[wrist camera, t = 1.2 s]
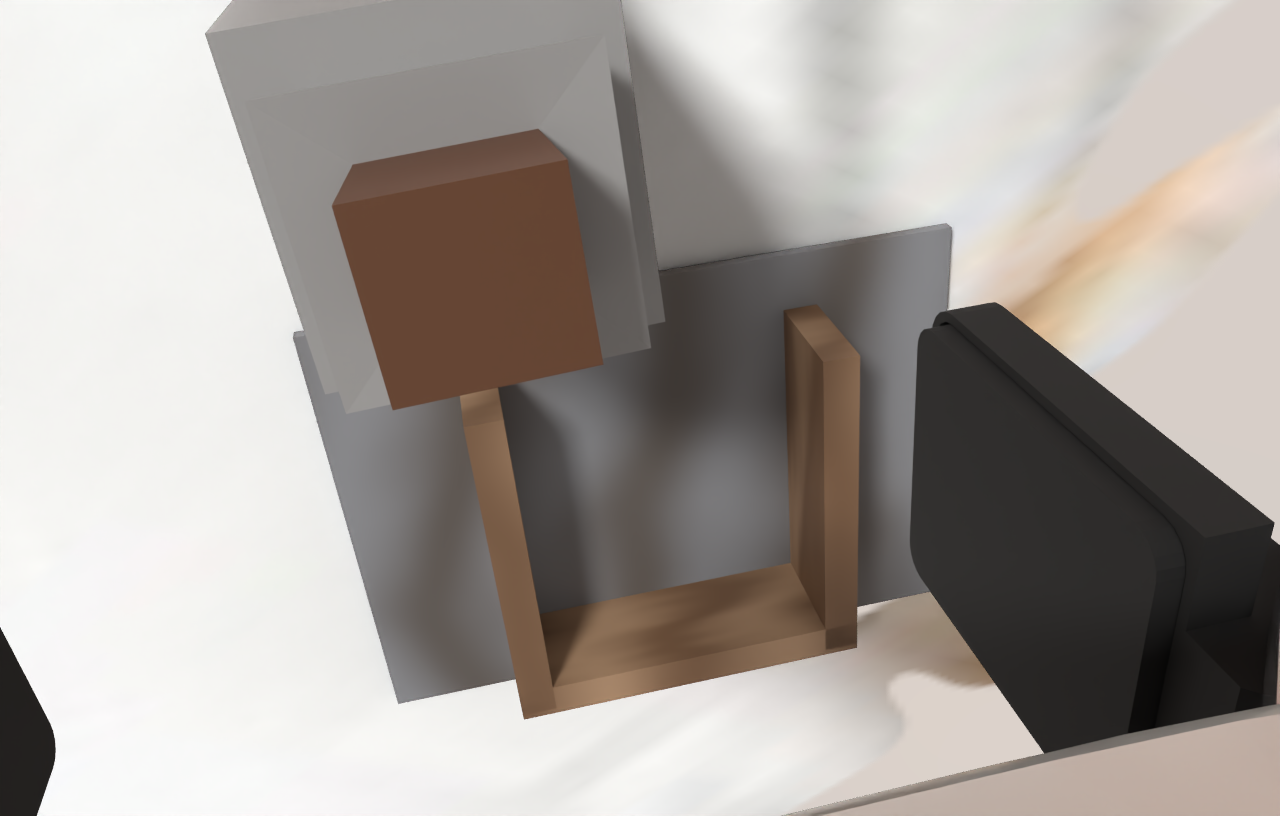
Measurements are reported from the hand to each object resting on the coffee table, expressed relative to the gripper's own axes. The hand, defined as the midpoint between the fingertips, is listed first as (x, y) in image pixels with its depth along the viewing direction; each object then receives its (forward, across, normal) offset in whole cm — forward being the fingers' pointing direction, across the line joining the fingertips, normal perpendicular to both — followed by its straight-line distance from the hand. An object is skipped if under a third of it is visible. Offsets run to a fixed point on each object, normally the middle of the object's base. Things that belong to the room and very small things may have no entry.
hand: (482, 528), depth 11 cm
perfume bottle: (+24, -1, 0) cm, 24 cm away
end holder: (+24, -6, +16) cm, 29 cm away
